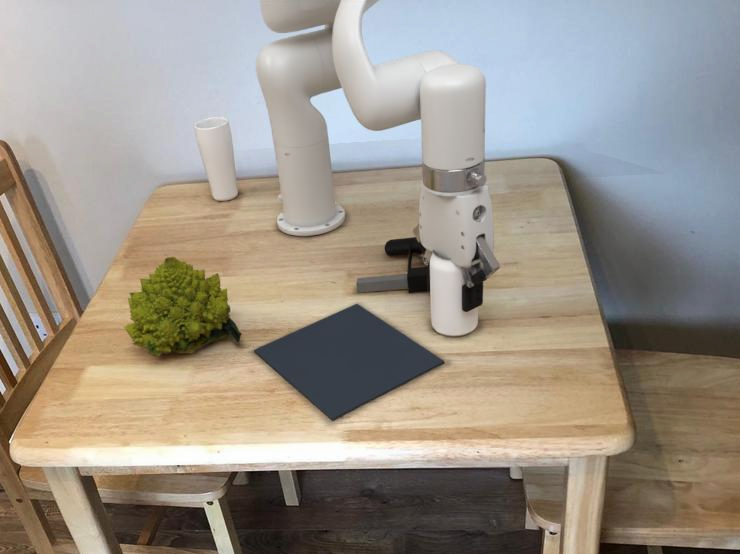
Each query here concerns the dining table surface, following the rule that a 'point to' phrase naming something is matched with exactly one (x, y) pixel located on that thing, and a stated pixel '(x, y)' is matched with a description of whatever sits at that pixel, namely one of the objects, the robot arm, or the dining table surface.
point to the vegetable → (179, 310)
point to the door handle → (411, 280)
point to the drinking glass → (217, 156)
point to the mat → (347, 360)
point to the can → (449, 298)
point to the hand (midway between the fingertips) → (454, 296)
